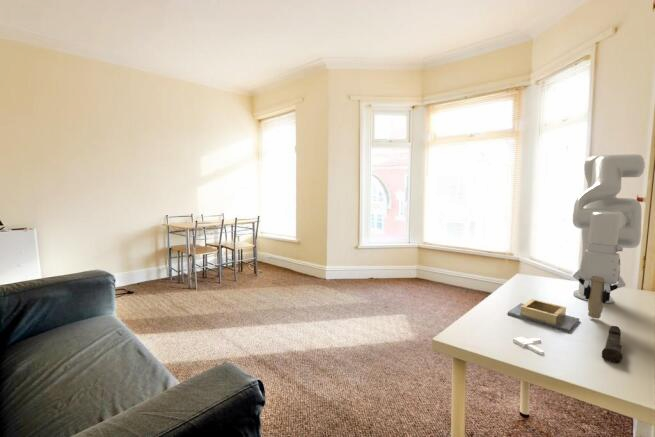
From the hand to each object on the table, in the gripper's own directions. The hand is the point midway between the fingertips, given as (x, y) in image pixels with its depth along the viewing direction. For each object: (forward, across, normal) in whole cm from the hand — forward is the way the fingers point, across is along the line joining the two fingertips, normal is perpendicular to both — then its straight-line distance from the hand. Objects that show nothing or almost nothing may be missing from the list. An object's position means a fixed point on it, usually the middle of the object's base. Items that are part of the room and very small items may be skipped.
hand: (596, 299), depth 109 cm
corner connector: (+7, +7, +37) cm, 38 cm away
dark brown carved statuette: (+7, -7, +22) cm, 24 cm away
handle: (+6, 0, 0) cm, 6 cm away
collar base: (+7, +12, +13) cm, 19 cm away
